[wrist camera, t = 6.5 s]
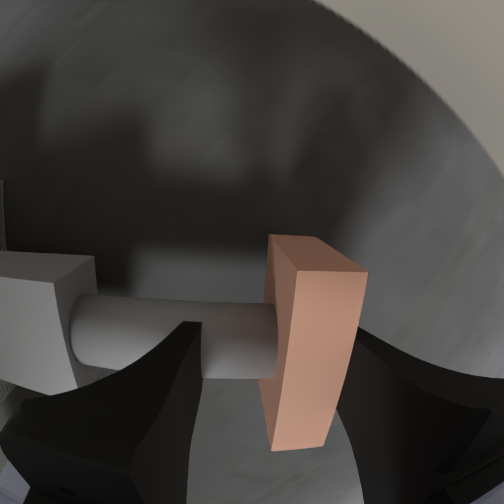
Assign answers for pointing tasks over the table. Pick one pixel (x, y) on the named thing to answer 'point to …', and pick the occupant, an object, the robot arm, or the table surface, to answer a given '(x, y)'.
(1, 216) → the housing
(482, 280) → the table surface
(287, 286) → the rod with pink block
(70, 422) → the robot arm
